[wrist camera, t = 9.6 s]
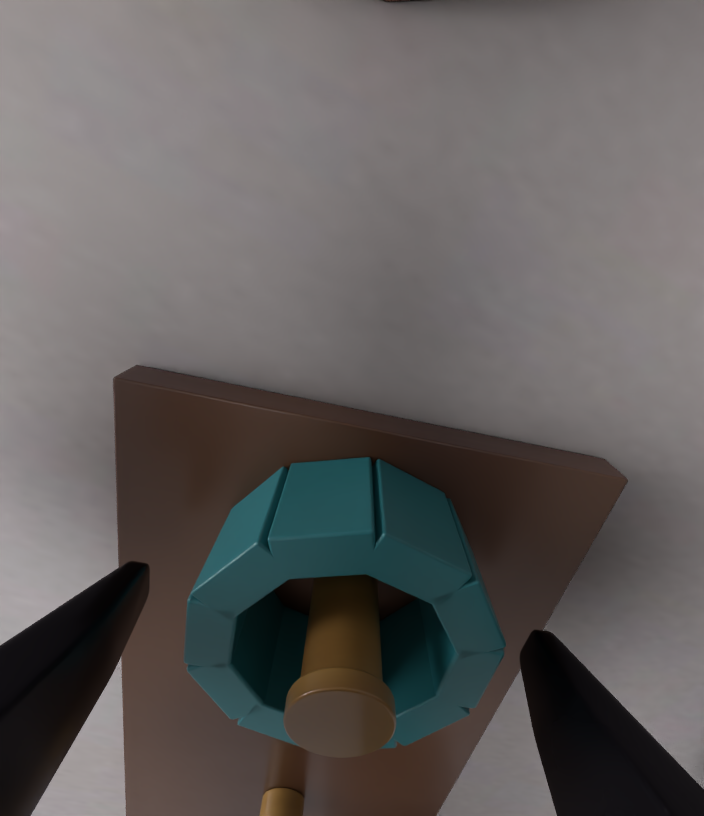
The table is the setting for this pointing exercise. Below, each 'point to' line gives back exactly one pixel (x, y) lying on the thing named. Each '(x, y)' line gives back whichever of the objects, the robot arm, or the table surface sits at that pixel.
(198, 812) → the peg rack
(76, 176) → the table surface
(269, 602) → the ring
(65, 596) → the table surface
